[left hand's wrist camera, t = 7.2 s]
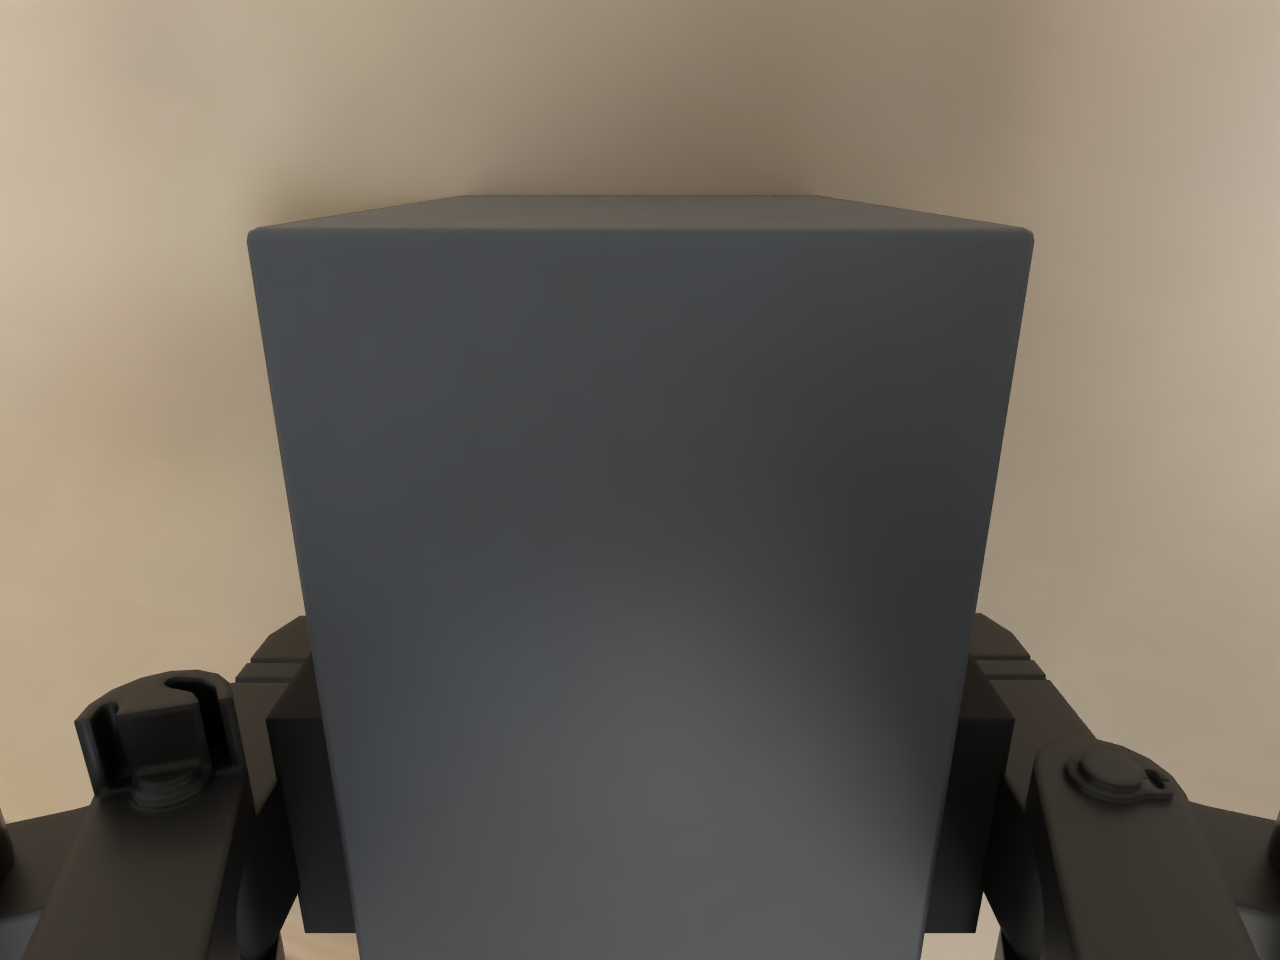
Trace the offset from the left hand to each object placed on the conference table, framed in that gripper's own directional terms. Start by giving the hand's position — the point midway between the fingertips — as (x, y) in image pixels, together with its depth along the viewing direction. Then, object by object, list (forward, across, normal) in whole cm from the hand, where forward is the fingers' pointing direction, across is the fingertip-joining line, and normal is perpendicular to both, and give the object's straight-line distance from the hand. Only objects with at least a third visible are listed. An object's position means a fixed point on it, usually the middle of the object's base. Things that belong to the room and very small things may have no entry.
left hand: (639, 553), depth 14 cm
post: (+1, 0, -21) cm, 21 cm away
